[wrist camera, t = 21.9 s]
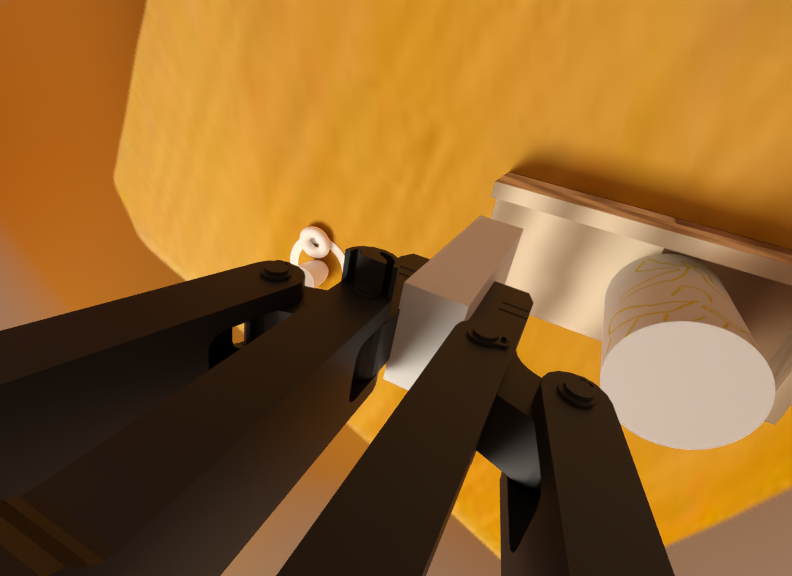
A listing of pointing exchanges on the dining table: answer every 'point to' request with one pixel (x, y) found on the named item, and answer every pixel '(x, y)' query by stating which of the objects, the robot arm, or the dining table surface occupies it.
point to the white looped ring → (315, 255)
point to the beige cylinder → (681, 356)
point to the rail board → (628, 241)
